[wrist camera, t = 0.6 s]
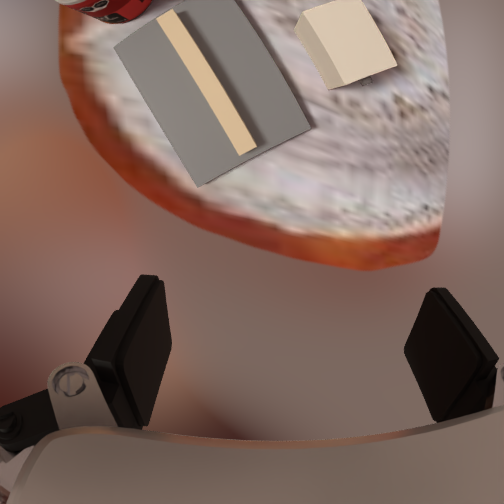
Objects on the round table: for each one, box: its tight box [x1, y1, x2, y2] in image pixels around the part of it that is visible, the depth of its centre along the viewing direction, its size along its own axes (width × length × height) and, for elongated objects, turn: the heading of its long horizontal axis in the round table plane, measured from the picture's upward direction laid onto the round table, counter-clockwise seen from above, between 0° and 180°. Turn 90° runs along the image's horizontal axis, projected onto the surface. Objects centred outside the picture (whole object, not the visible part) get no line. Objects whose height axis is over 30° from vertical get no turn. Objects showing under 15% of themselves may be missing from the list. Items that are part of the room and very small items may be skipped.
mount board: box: [113, 0, 311, 188], centre depth 28 cm, size 14×20×3 cm
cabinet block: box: [294, 0, 398, 90], centre depth 24 cm, size 6×9×7 cm
